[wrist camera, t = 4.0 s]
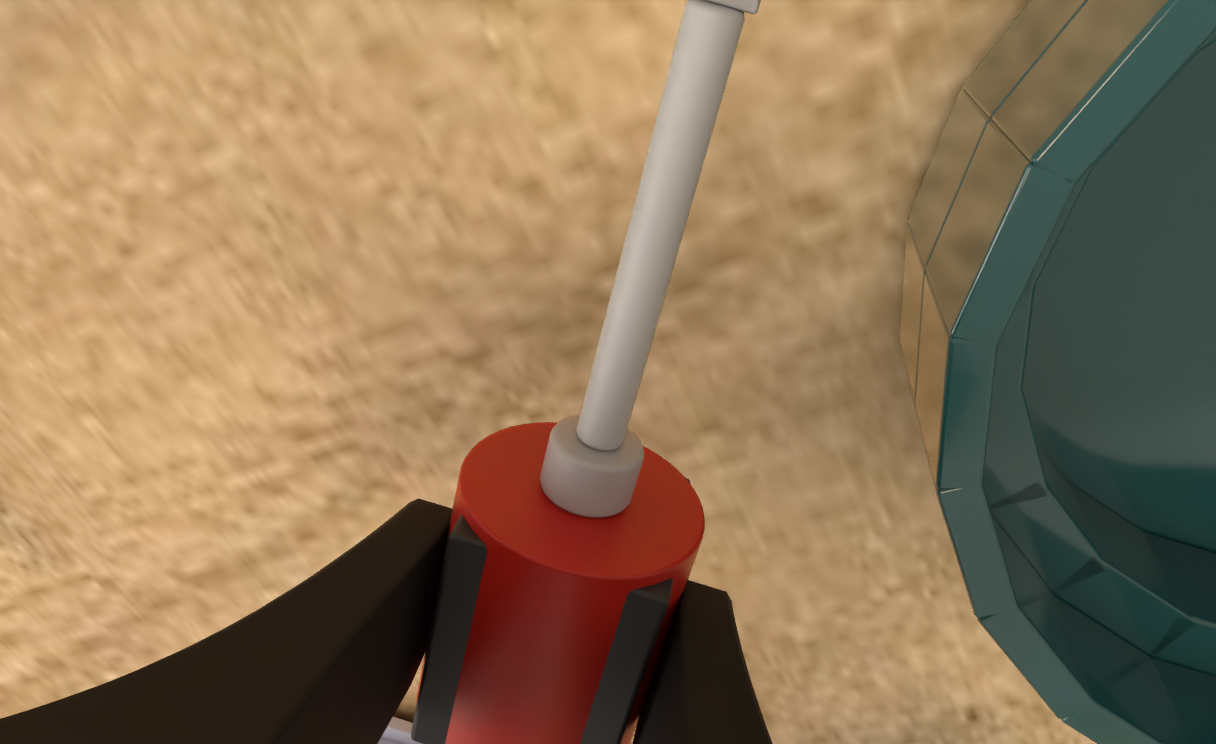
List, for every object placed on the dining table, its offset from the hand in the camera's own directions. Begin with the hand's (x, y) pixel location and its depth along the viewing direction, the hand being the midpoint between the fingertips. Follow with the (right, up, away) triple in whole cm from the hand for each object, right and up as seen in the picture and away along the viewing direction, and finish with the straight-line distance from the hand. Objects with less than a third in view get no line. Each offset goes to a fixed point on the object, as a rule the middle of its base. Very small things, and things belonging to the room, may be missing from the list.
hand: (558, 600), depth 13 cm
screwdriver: (+1, +3, 0) cm, 4 cm away
